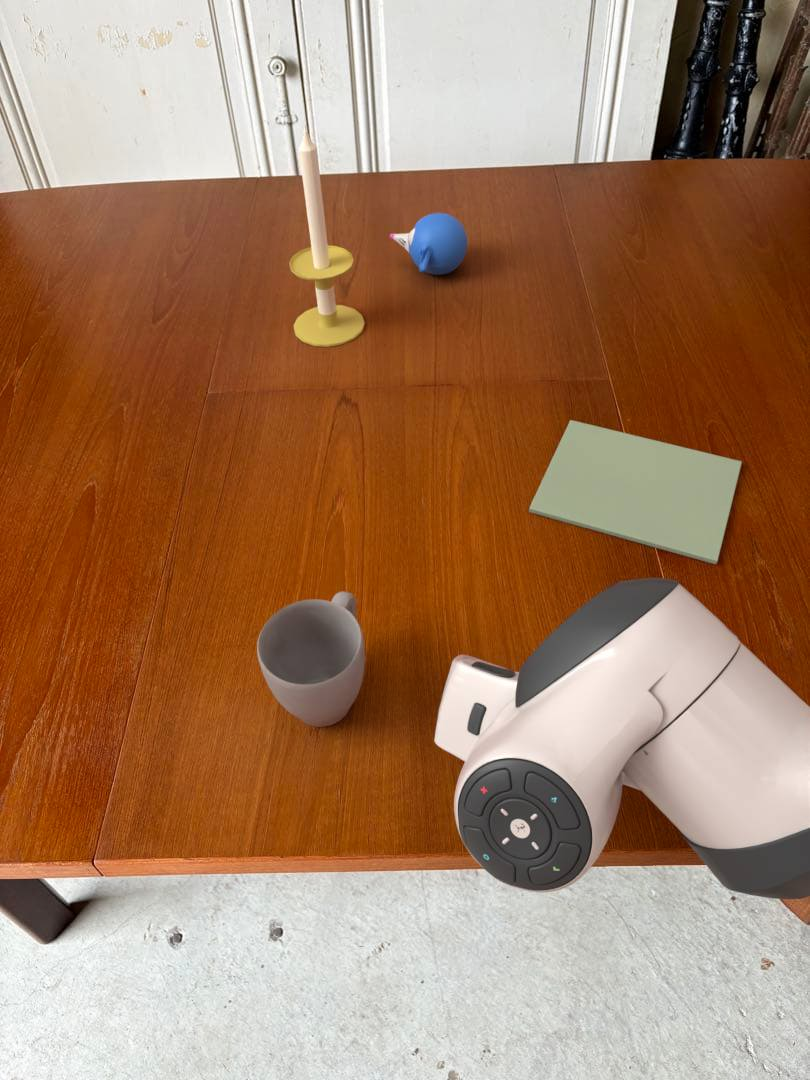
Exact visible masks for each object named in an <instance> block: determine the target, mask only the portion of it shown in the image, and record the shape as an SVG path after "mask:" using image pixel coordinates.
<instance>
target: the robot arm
mask: <svg viewBox="0 0 810 1080" xmlns="http://www.w3.org/2000/svg"><path fill="white" fill-rule="evenodd" d="M435 725H436V726H435V732H434V739H433V740H434V743H435V745H436V746H437V747H438V748H440V749H442V750H443V751H444V752H447V753H449V754H450V755H452V756H454V757H456V758H457V759H459V760H461V761H463V762H464V763H463V765H462V767H461V769H460V773H459V774H458V778H457V781H456V785H455V790H454V797H453V812H454V813H453V814H454V819H455V825H456V829H457V831H458V835H459V836H460V839H461V842H462V843H463V845H464V846H465V848H466V851H468V853H469V854H470V855H471V857H472V858H473V860H474V861H475V862H476V863H478V865H479V866H480V867H482V868H483V870H485V871H486V872H487V873H488V874H489V875H490V876H492V877H493V878H494V879H495V880H498V881H499V882H501V883H503V884H505V885H507V886H509V887H512V888H515V889H518V890H522V891H525V892H531V893H552V892H556V891H560V890H563V889H566V888H568V887H570V886H572V885H573V884H576V882H578V881H579V880H580V879H581V878H583V877H584V876H585V875H586V874H587V872H589V870H590V869H591V868H592V866H593V865H594V864H595V862H596V861H597V860H598V858H599V857H600V855H601V853H602V852H603V851H604V849H605V846H606V845H607V842H608V840H609V838H610V836H611V834H612V831H613V829H614V825H615V824H616V820H617V817H618V814H619V809H620V805H621V801H622V795H623V785H624V786H627V787H629V788H632V789H636V790H638V791H641V792H642V793H643V794H644V795H645V796H646V797H647V799H649V801H651V802H652V804H654V806H655V807H656V808H658V810H659V811H660V812H661V813H662V814H663V815H664V816H666V818H667V819H668V820H669V822H671V823H672V824H673V825H674V826H675V827H676V828H677V829H678V831H679V833H680V835H681V837H682V838H683V839H684V840H685V842H686V843H687V844H688V846H690V848H691V849H692V850H693V851H694V852H695V854H697V856H698V857H699V858H700V859H701V861H702V862H703V863H704V864H705V866H706V867H707V868H708V870H709V871H710V872H711V873H712V874H713V876H714V877H715V878H716V880H718V881H719V883H720V884H721V885H722V886H723V887H724V888H726V889H727V890H730V891H732V892H736V893H739V894H744V895H748V896H752V897H753V896H754V897H760V898H767V899H774V900H775V899H777V900H800V899H801V900H802V899H806V898H809V897H810V706H809V705H808V704H807V703H806V702H805V701H804V700H803V699H802V698H801V697H799V696H798V694H796V693H795V692H794V690H792V689H791V688H790V687H789V686H788V685H787V684H786V683H785V682H784V681H783V680H782V679H781V678H780V677H778V676H777V675H776V674H775V672H773V671H772V670H771V669H770V668H769V667H768V666H767V665H766V664H765V663H764V662H763V661H762V660H761V659H759V658H758V657H757V656H756V655H755V654H754V653H753V652H752V651H751V650H749V648H748V647H746V645H745V644H743V642H742V641H740V640H739V637H738V636H737V635H736V634H735V633H734V632H733V631H731V630H730V629H729V628H728V627H727V625H726V624H725V623H723V622H722V621H721V620H720V619H719V618H718V617H717V616H716V615H715V614H714V613H713V612H711V611H710V610H709V609H708V608H707V607H706V606H705V605H704V604H703V603H702V601H700V600H699V599H697V598H696V597H695V596H694V595H693V594H692V593H691V592H689V590H688V589H686V588H685V587H684V586H682V584H681V583H679V581H678V580H675V579H671V578H664V577H647V578H635V579H628V580H622V581H621V580H620V581H618V582H616V583H614V584H612V585H609V586H608V587H607V588H605V589H604V590H602V591H601V592H599V593H597V594H596V595H594V596H593V597H591V598H590V599H589V600H588V601H586V602H585V603H584V604H582V605H581V606H580V607H578V609H576V610H575V611H574V612H573V613H572V614H570V615H569V616H568V617H567V618H566V619H565V620H564V621H563V622H562V623H561V624H560V625H558V626H557V627H556V628H555V630H553V631H552V632H551V633H550V634H549V635H548V636H547V637H546V638H545V639H544V640H543V641H542V642H541V643H540V644H539V645H538V646H537V647H536V648H535V650H534V651H533V652H532V653H531V654H530V655H529V656H528V658H527V659H526V660H525V661H524V662H523V663H522V665H521V666H520V668H519V670H518V671H515V670H513V669H509V668H507V667H503V666H501V665H497V664H495V663H492V662H489V661H486V660H483V659H480V658H477V657H475V656H471V655H467V654H459V655H457V656H455V657H454V658H453V659H452V662H451V666H450V668H449V671H448V675H447V678H446V682H445V685H444V688H443V691H442V695H441V699H440V703H439V707H438V710H437V720H436V724H435Z"/></svg>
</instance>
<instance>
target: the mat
mask: <svg viewBox="0 0 810 1080" xmlns="http://www.w3.org/2000/svg"><path fill="white" fill-rule="evenodd" d="M742 463H743V461H741V460H737V459H732V458H729V457H725V456H721V455H717V454H712V453H709V452H705V451H700V450H696V449H692V448H688V447H684V446H679V445H676V444H672V443H667V442H663V441H659V440H655V439H651V438H647V437H643V436H638V435H635V434H630V433H626V432H622V431H618V430H614V429H610V428H606V427H603V426H602V427H601V426H598V425H593V424H589V423H585V422H580V421H577V420H572V419H570V420H569V422H568V424H567V426H566V428H565V431H564V433H563V435H562V437H561V439H560V441H559V443H558V445H557V448H556V449H555V452H554V454H553V456H552V458H551V460H550V462H549V465H548V467H547V469H546V471H545V473H544V476H543V477H542V479H541V482H540V484H539V486H538V488H537V489H536V493H535V495H534V496H533V499H532V501H531V503H530V505H529V508H528V513H531V514H534V515H537V516H542V517H545V518H549V519H551V520H555V521H559V522H563V523H567V524H570V525H574V526H577V527H581V528H583V529H588V530H591V531H595V532H599V533H601V534H606V535H610V536H613V537H617V538H619V539H622V540H623V539H624V540H627V541H631V542H635V543H637V544H641V545H644V546H648V547H652V548H655V549H659V550H662V551H666V552H670V553H674V554H677V555H680V556H683V557H687V558H691V559H694V560H698V561H702V562H704V563H708V564H712V565H717V564H718V561H719V558H720V553H721V549H722V544H723V541H724V537H725V533H726V529H727V526H728V525H727V524H728V521H729V517H730V513H731V508H732V504H733V500H734V496H735V491H736V488H737V484H738V481H739V476H740V473H741V467H742Z"/></svg>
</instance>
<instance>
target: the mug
mask: <svg viewBox="0 0 810 1080" xmlns="http://www.w3.org/2000/svg"><path fill="white" fill-rule="evenodd" d="M256 653H257V660H258V663H259V667H260V668H261V672H262V675H263V677H264V680H265V682H266V684H267V686H268V688H269V690H270V691H271V693H272V695H273V697H274V698H275V699H276V701H278V703H279V704H280V706H281V707H283V708H284V709H285V710H286V711H287V712H288V713H290V714H291V715H292V716H294V717H295V718H296V719H299V720H300V721H301V722H302V723H304V724H306V725H309V726H311V727H317V728H323V727H329V726H332V725H334V724H337V723H338V722H340V721H341V720H342V719H343V718H345V716H346V715H347V714H348V712H349V710H350V708H351V707H352V706H353V704H354V702H355V700H356V699H357V697H358V695H359V693H360V690H361V687H362V684H363V679H364V675H365V665H366V649H365V638H364V633H363V630H362V627H361V625H360V622H359V621H358V619H357V599H356V598H355V596H354V595H353V593H351V592H348V591H343V590H342V591H338V592H337V593H335V594H334V596H333V597H332V599H331V601H330V600H324V599H316V598H315V599H313V598H312V599H303V600H299V601H296V602H295V601H294V602H292V603H290V604H287V605H286V606H283V607H282V608H281V609H279V610H277V611H276V612H275V613H274V614H273V615H272V616H271V617H269V618H268V620H267V621H266V622H265V623H264V625H263V627H262V628H261V629H260V633H259V635H258V639H257V643H256Z"/></svg>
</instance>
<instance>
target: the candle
mask: <svg viewBox="0 0 810 1080" xmlns="http://www.w3.org/2000/svg"><path fill="white" fill-rule="evenodd" d="M303 126H304V130H303V135H302V140H301V144H300V145H299V147H298V154H299V162H300V170H301V177H302V185H303V193H304V201H305V208H306V209H305V210H306V216H307V224H308V231H309V238H310V239H309V240H310V246H309V247H307V248H304V249H301V250H299V251H297V252H296V253H295V254H294V255H292V256H291V258H290V261H289V262H288V264H289V269H290V272H291V273H293V274H294V275H295V276H296V277H297V278H299V279H303V280H305V281H311V282H312V281H313V282H314V289H315V297H316V303H317V306H315V307H313V308H310V309H307V310H305V311H304V312H302V313H301V314H300V315H299V316H297V318H296V320H295V322H294V324H293V330H294V335H295V337H297V338H298V339H299V340H300V341H301V342H302V343H305V344H306V345H311V346H313V347H324V348H331V347H336V346H342V345H345V344H348V343H349V342H352V341H354V340H355V339H357V338H358V337H359V336H360V335H361V334H362V333H363V331H364V328H365V325H366V323H365V320H364V317H363V315H362V313H360V312H359V311H358V310H356V309H355V308H353V307H350V306H346V305H343V304H337V303H336V294H335V285H334V279H338V278H340V277H343V276H345V275H346V274H347V273H348V272H349V271H350V270H352V267H353V265H354V262H355V260H354V257H353V253H351V252H350V251H348V249H346V248H343V247H340V246H337V245H329V244H328V236H327V235H328V234H327V227H326V226H327V225H326V218H325V211H324V209H325V208H324V200H323V192H322V183H321V174H320V167H319V166H320V164H319V156H318V148H317V146H316V145H317V144H314V143H313V141H312V139H311V138H310V137H311V136H310V134H309V132H308V129H307V128H306V127H307V126H306V124H305V125H303Z"/></svg>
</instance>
